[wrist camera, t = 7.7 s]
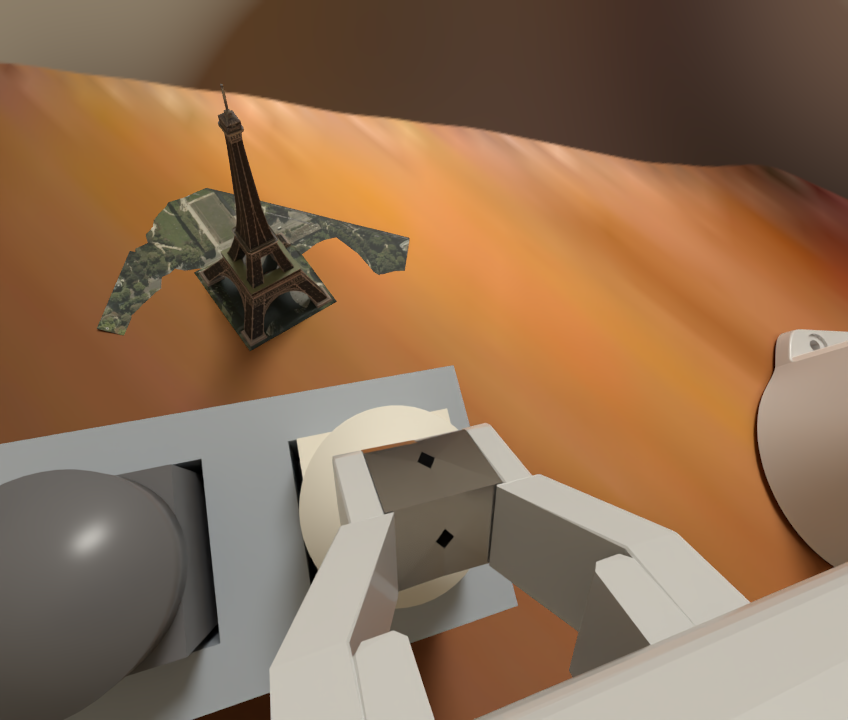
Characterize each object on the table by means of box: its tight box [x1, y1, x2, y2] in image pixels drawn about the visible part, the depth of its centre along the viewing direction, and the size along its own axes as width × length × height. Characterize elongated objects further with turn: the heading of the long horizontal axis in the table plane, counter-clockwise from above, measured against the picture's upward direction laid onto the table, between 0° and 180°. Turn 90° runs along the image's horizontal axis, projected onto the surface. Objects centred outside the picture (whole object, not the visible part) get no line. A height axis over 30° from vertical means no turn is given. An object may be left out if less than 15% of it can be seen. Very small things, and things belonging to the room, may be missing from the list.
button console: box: [0, 365, 518, 720], centre depth 16 cm, size 22×8×9 cm, turn 103°
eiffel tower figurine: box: [97, 84, 409, 351], centre depth 20 cm, size 15×10×13 cm
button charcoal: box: [0, 464, 218, 720], centre depth 13 cm, size 5×5×8 cm
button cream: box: [297, 405, 469, 609], centre depth 15 cm, size 5×5×8 cm
